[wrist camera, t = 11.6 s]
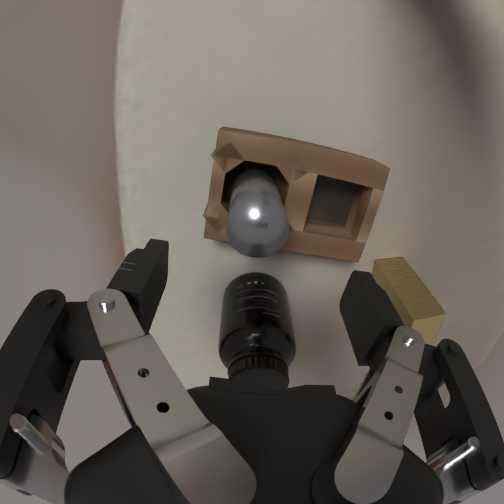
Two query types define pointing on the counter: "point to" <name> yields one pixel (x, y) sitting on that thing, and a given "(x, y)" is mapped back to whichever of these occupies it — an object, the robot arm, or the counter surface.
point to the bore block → (302, 191)
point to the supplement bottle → (257, 331)
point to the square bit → (409, 297)
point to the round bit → (256, 213)
